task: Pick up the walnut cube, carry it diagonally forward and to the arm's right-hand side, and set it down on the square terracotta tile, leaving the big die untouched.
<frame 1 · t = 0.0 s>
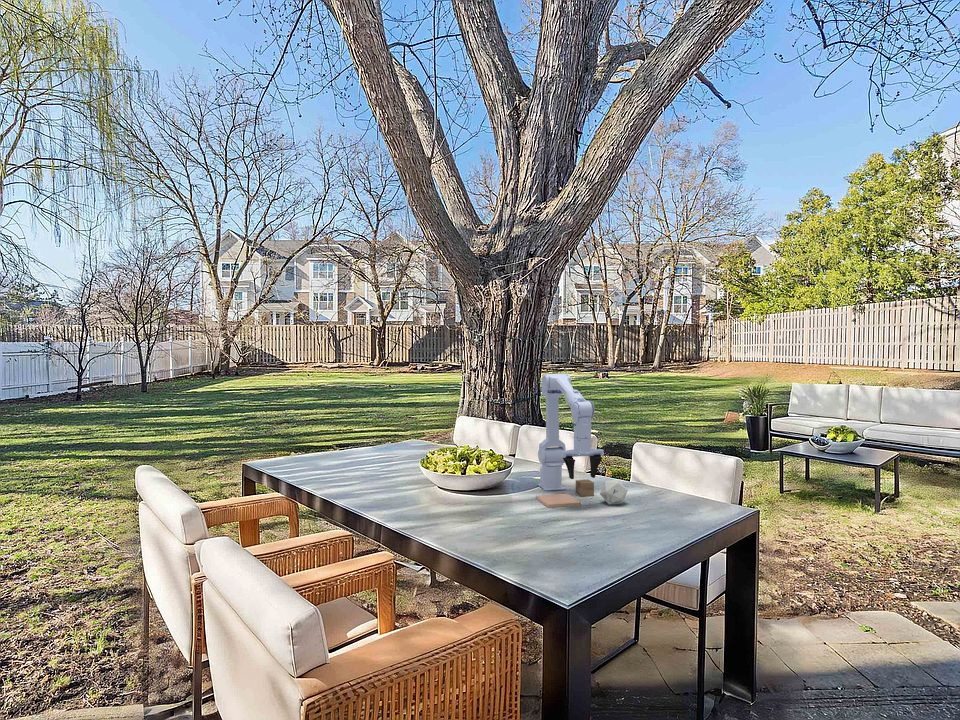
hand: (582, 477, 194), 10 cm above the table, tool pointing down, fingers open, 7 cm apart
cube: (584, 494, 211), on the table
tile: (558, 501, 201), on the table
die: (613, 503, 200), on the table
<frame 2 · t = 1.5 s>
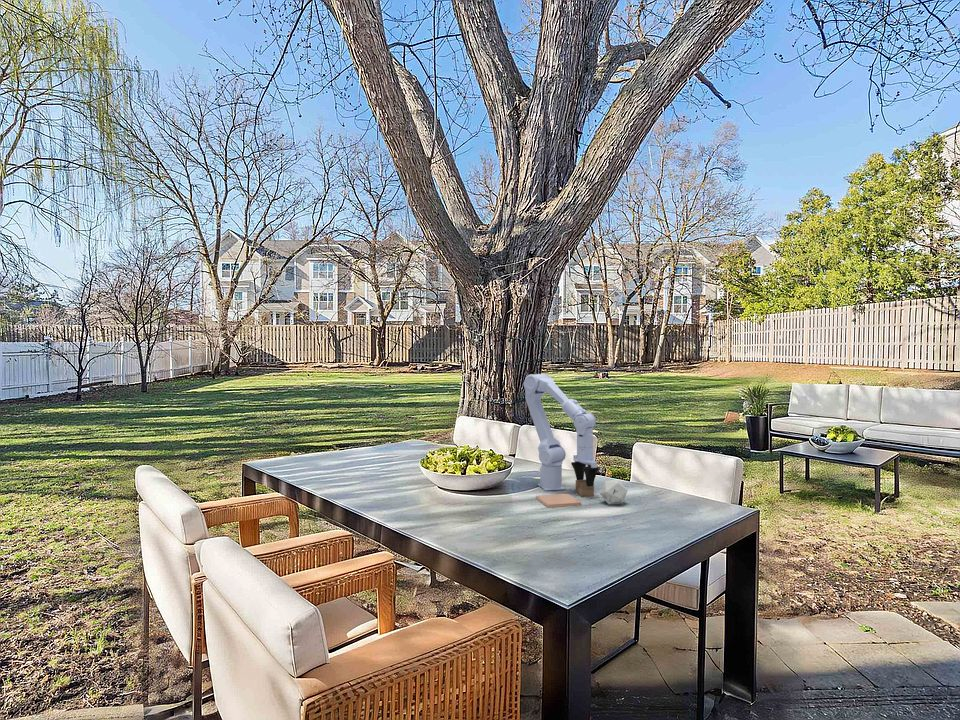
hand: (584, 483, 211), 4 cm above the table, tool pointing down, fingers open, 7 cm apart
nothing on the table moved.
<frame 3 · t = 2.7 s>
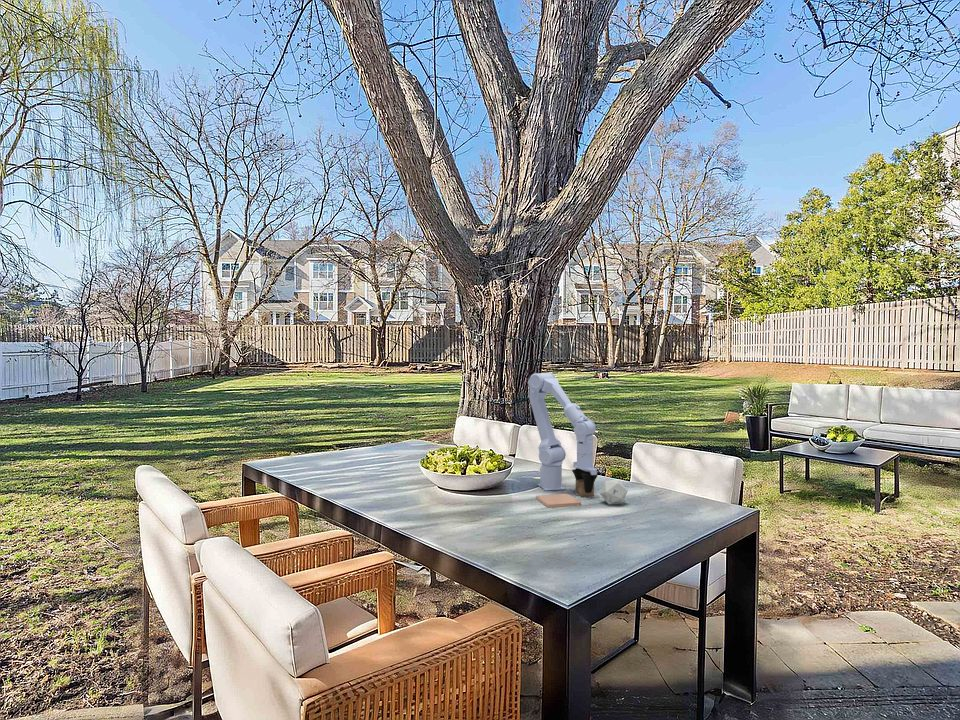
hand: (584, 490, 211), 1 cm above the table, tool pointing down, fingers closed on cube, 5 cm apart
cube: (584, 494, 211), on the table, touching gripper
everything else where it was.
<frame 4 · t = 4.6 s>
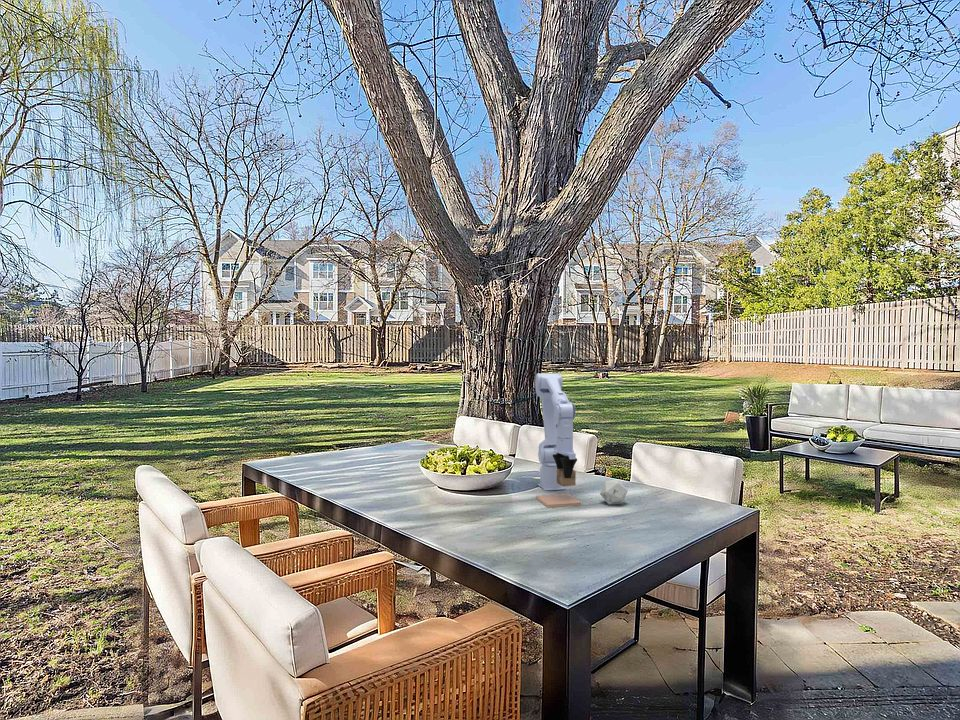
hand: (564, 476, 203), 8 cm above the table, tool pointing down, fingers closed on cube, 5 cm apart
cube: (565, 484, 203), point 6 cm above the table, touching gripper
everything else where it was.
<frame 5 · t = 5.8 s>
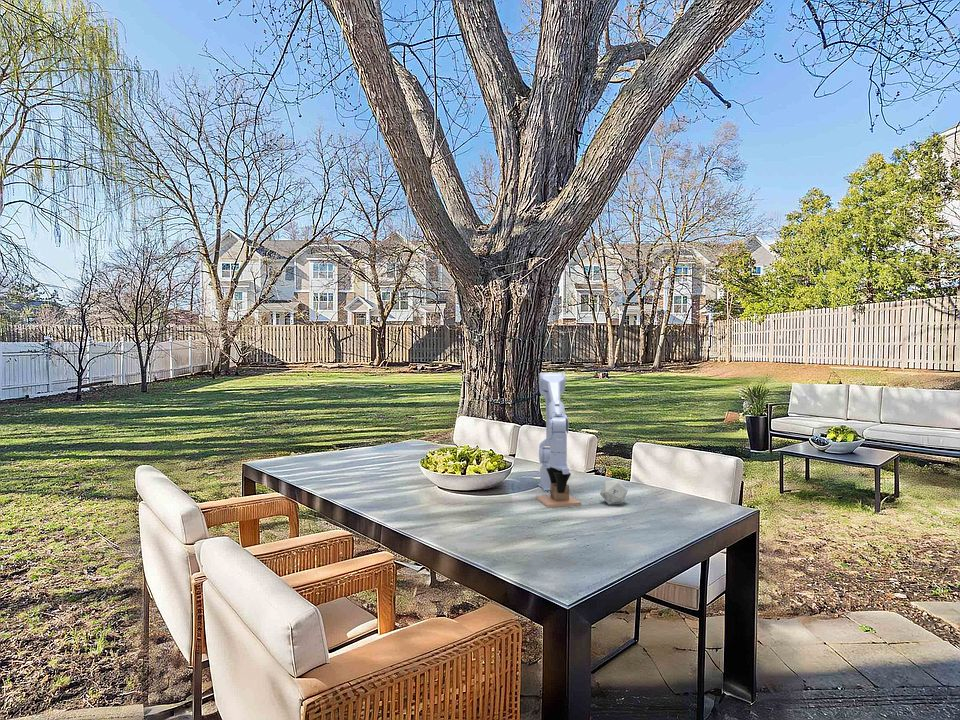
hand: (558, 490, 201), 4 cm above the table, tool pointing down, fingers closed on cube, 5 cm apart
cube: (559, 498, 201), point 1 cm above the table, touching gripper, tile
everything else where it was.
when the fingers open (4 cm above the table, at t = 6.6 s): cube stays where it is, resting on tile.
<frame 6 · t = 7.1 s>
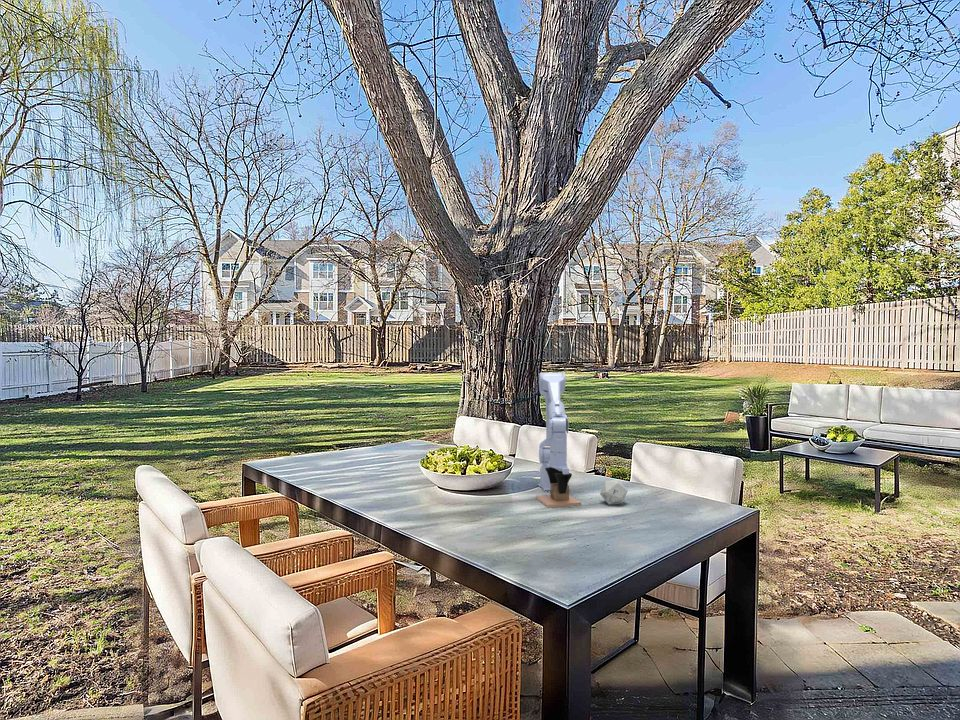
hand: (558, 490, 201), 4 cm above the table, tool pointing down, fingers open, 7 cm apart
cube: (559, 498, 201), point 1 cm above the table, touching tile
everything else where it was.
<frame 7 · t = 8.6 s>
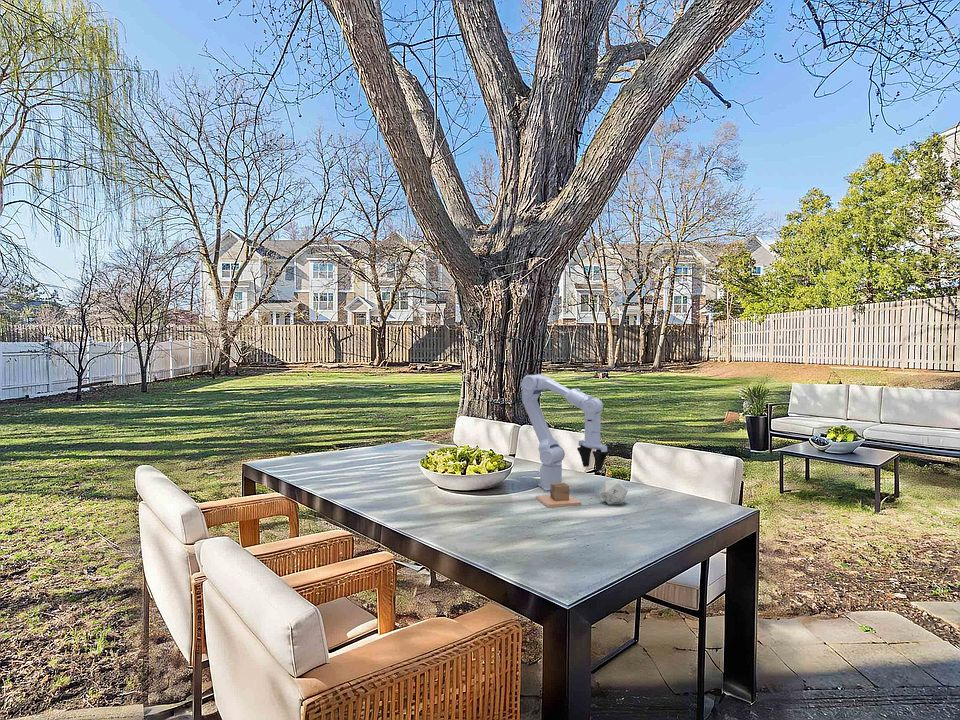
hand: (592, 468, 212), 9 cm above the table, tool pointing down, fingers open, 7 cm apart
nothing on the table moved.
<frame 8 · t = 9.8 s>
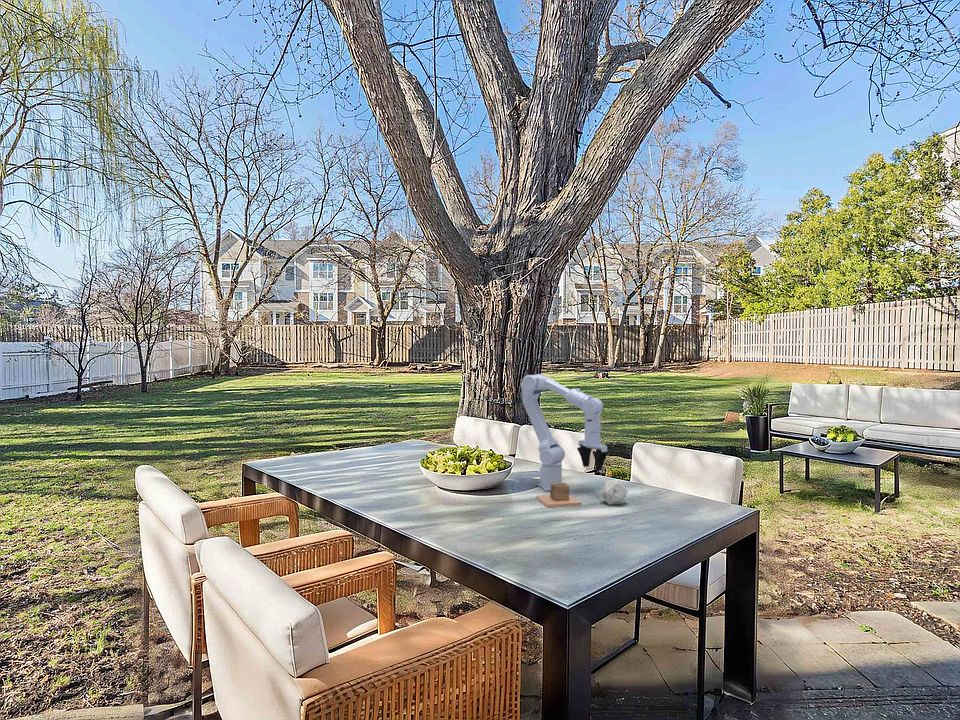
hand: (592, 468, 212), 9 cm above the table, tool pointing down, fingers open, 7 cm apart
nothing on the table moved.
at the end: cube inside the target area on the tile (0.6 cm from its centre), point 1.0 cm above the tile's base; cube tilted 0°; the gripper is holding nothing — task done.
